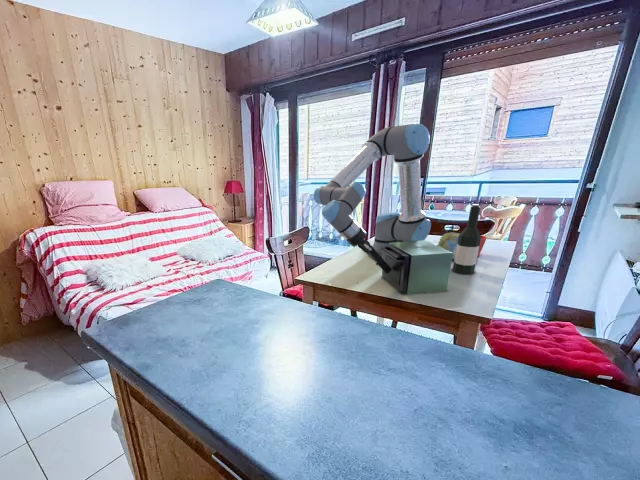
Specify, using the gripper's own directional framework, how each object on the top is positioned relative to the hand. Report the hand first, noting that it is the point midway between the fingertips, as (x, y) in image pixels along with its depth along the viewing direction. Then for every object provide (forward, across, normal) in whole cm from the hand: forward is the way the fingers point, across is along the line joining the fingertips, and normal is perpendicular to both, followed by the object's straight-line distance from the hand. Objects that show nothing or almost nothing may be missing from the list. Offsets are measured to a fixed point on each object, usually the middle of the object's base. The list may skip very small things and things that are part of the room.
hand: (388, 271), depth 136 cm
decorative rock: (+35, -30, +28) cm, 54 cm away
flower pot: (+45, -33, +38) cm, 68 cm away
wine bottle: (+32, -10, +24) cm, 41 cm away
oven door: (+6, 0, -3) cm, 7 cm away
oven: (+13, 0, +4) cm, 13 cm away
